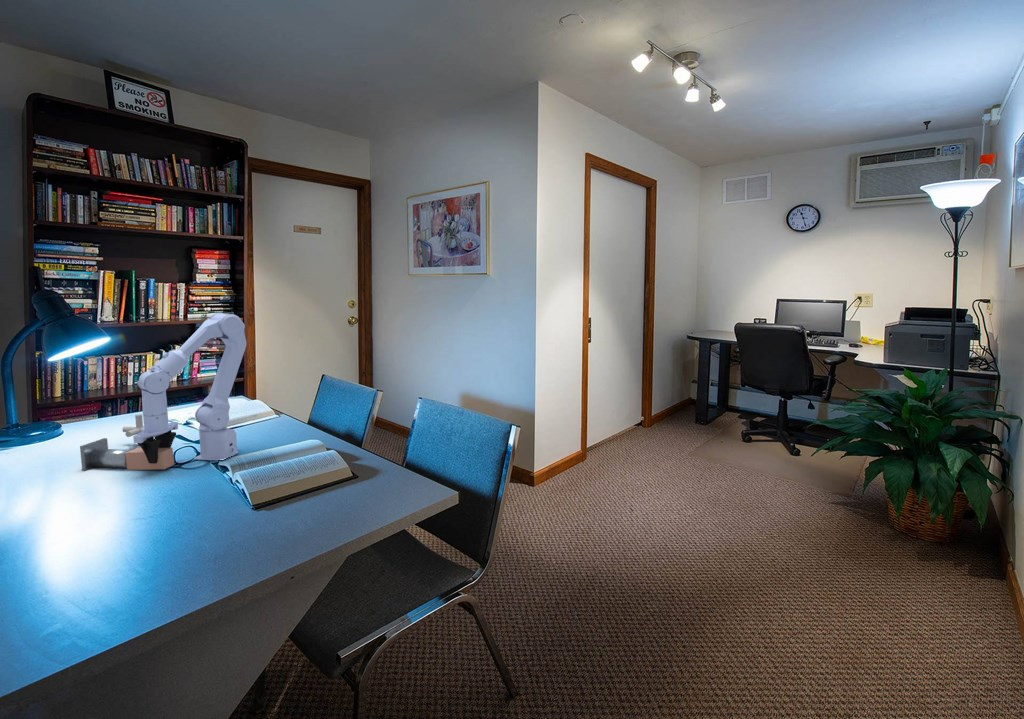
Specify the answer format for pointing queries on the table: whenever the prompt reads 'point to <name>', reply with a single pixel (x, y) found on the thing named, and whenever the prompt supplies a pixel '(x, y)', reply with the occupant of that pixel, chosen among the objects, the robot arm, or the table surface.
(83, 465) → the grey cylinder with plate
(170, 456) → the tan piece
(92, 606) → the table surface
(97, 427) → the table surface
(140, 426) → the pipe connector
